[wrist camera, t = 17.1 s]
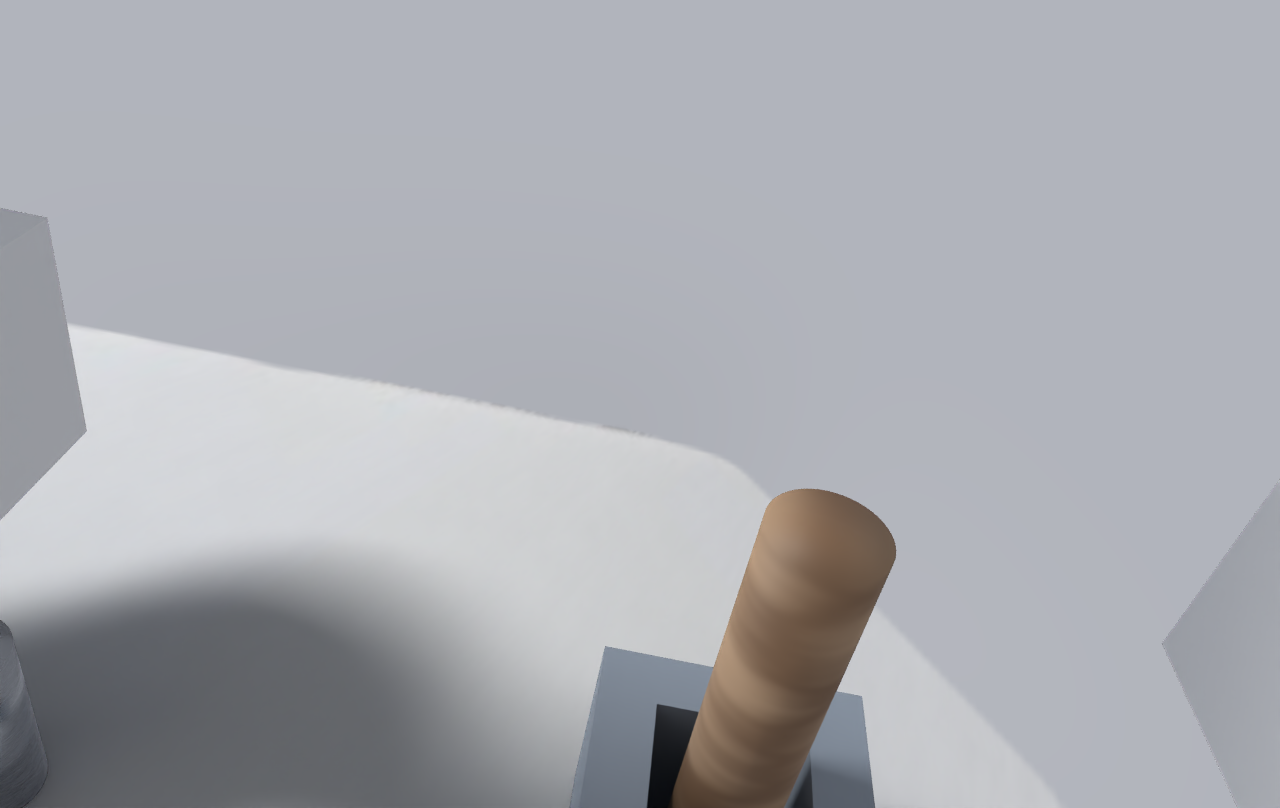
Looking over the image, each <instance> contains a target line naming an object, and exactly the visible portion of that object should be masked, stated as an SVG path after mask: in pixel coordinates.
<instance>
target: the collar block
mask: <svg viewBox="0 0 1280 808" xmlns="http://www.w3.org/2000/svg"><path fill="white" fill-rule="evenodd" d="M713 668H714V667H709V666H704V665H699V664H694V663H688V662H683V661H678V660H673V659H668V658H663V657H658V656H653V655H647V654H642V653H637V652H632V651H627V650H622V649H617V648H612V647H606V646H605V649H604V653H603V658H602V662H601V666H600V671H599V675H598V679H597V684H596V688H595V692H594V697H593V701H592V705H591V710H590V714H589V718H588V723H587V727H586V731H585V736H584V740H583V744H582V748H581V753H580V757H579V761H578V766H577V770H576V775H575V780H574V786H573V792H572V798H571V804H570V808H667V807H668V804H669V801H670V798H671V795H672V792H673V789H674V786H675V783H676V780H677V777H678V774H679V771H680V768H681V765H682V762H683V759H684V756H685V753H686V750H687V747H688V744H689V741H690V738H691V735H692V732H693V729H694V726H695V723H696V719H697V716H698V713H699V710H700V707H701V704H702V701H703V698H704V695H705V692H706V689H707V686H708V683H709V680H710V677H711V674H712V671H713ZM784 808H875V803H874V795H873V786H872V778H871V769H870V761H869V752H868V744H867V735H866V727H865V718H864V710H863V701H862V696H857V695H852V694H847V693H842V692H837V691H836V693H835V695H834V698H833V700H832V702H831V704H830V707H829V709H828V711H827V713H826V715H825V718H824V720H823V722H822V724H821V727H820V729H819V731H818V733H817V736H816V738H815V740H814V742H813V744H812V747H811V749H810V751H809V753H808V756H807V758H806V760H805V762H804V765H803V767H802V769H801V771H800V773H799V776H798V778H797V780H796V782H795V785H794V787H793V789H792V791H791V794H790V796H789V798H788V800H787V802H786V805H785V807H784Z"/></svg>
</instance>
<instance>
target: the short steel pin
mask: <svg viewBox="0 0 1280 808" xmlns="http://www.w3.org/2000/svg"><path fill="white" fill-rule="evenodd" d="M47 772H48V762H47V758H46V754H45V751H44V747H43V744H42V740H41V737H40V733H39V729H38V726H37V722H36V719H35V715H34V712H33V708H32V704H31V701H30V697H29V694H28V690H27V687H26V683H25V680H24V676H23V672H22V669H21V665H20V662H19V658H18V655H17V651H16V647H15V644H14V640H13V637H12V633H11V631H10V629H9V628H8V626H7V625H6V624H5V623H4V622H2V621H1V620H0V808H22V807H24V806H25V805H26V804H27V803H28V802H30V801H31V800H32V799H33V798H34V797H35V795H36V794H37V793H38V792H39V790H40V789H41V787H42V786H43V784H44V782H45V779H46V776H47Z"/></svg>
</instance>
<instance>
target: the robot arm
mask: <svg viewBox="0 0 1280 808" xmlns="http://www.w3.org/2000/svg"><path fill="white" fill-rule="evenodd" d="M86 431H87V430H86V424H85V419H84V413H83V408H82V403H81V397H80V392H79V386H78V381H77V376H76V370H75V365H74V359H73V354H72V349H71V343H70V338H69V332H68V327H67V322H66V317H65V311H64V305H63V300H62V295H61V289H60V284H59V279H58V273H57V268H56V263H55V258H54V252H53V246H52V241H51V235H50V230H49V224H48V219H47V217H42V216H36V215H32V214H27V213H22V212H17V211H12V210H7V209H2V208H0V520H1V519H2V518H3V517H4V516H5V515H6V514H7V513H8V512H9V511H10V510H11V509H12V508H13V507H14V505H15V504H16V503H17V502H18V501H19V500H20V499H21V498H22V497H23V496H24V495H25V494H26V493H27V492H28V491H29V490H30V489H31V488H32V487H33V486H34V485H35V484H36V483H37V482H38V481H39V480H40V479H41V478H42V477H43V476H44V475H45V474H46V472H47V471H48V470H49V469H50V468H51V467H52V466H53V465H54V464H55V463H56V462H57V461H58V460H59V459H60V458H61V457H62V456H63V455H64V454H65V453H66V452H67V451H68V450H69V449H70V448H71V447H72V446H73V445H74V444H75V443H76V442H77V441H78V439H79V438H80V437H81V436H82V435H83V434H84V433H85V432H86ZM1162 645H1163V647H1164V649H1165V651H1166V654H1167V656H1168V658H1169V660H1170V662H1171V665H1172V667H1173V669H1174V671H1175V673H1176V675H1177V678H1178V680H1179V682H1180V684H1181V686H1182V688H1183V691H1184V692H1185V695H1186V697H1187V699H1188V702H1189V704H1190V706H1191V708H1192V710H1193V712H1194V715H1195V717H1196V719H1197V721H1198V723H1199V726H1200V727H1201V730H1202V732H1203V734H1204V736H1205V738H1206V741H1207V743H1208V745H1209V747H1210V749H1211V752H1212V754H1213V756H1214V758H1215V760H1216V762H1217V765H1218V767H1219V769H1220V771H1221V773H1222V776H1223V778H1224V780H1225V782H1226V784H1227V786H1228V789H1229V791H1230V793H1231V795H1232V797H1233V799H1234V802H1235V804H1236V806H1237V808H1280V479H1279V481H1278V482H1277V484H1276V485H1275V487H1274V488H1273V489H1272V491H1271V492H1270V494H1269V495H1268V496H1267V498H1266V499H1265V500H1264V502H1263V503H1262V505H1261V506H1260V507H1259V509H1258V510H1257V512H1256V513H1255V514H1254V516H1253V517H1252V519H1251V520H1250V521H1249V523H1248V524H1247V525H1246V527H1245V528H1244V530H1243V531H1242V532H1241V534H1240V535H1239V537H1238V538H1237V540H1236V541H1235V542H1234V544H1233V545H1232V547H1231V548H1230V549H1229V551H1228V552H1227V553H1226V555H1225V556H1224V558H1223V559H1222V560H1221V562H1220V563H1219V565H1218V566H1217V567H1216V569H1215V570H1214V572H1213V573H1212V574H1211V576H1210V577H1209V579H1208V580H1207V581H1206V583H1205V584H1204V586H1203V587H1202V588H1201V590H1200V591H1199V593H1198V594H1197V595H1196V597H1195V598H1194V600H1193V601H1192V602H1191V604H1190V605H1189V607H1188V608H1187V609H1186V611H1185V612H1184V613H1183V615H1182V616H1181V618H1180V619H1179V620H1178V622H1177V623H1176V625H1175V626H1174V628H1173V629H1172V630H1171V632H1170V633H1169V634H1168V636H1167V637H1166V639H1165V640H1164V641H1163V643H1162Z"/></svg>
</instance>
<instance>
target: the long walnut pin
mask: <svg viewBox="0 0 1280 808" xmlns="http://www.w3.org/2000/svg"><path fill="white" fill-rule="evenodd" d="M895 558H896V546H895V542H894V539H893V537H892V535H891V533H890V531H889V529H888V528H887V527H886V525H885V524H884V523H883V522H882V521H881V520H880V519H879V518H878V517H877V516H876V515H875V514H874V513H873V512H872V511H870V510H869V509H867V508H866V507H864V506H863V505H861V504H859V503H858V502H856V501H854V500H852V499H850V498H847V497H845V496H843V495H839V494H836V493H833V492H829V491H825V490H818V489H798V490H792V491H788V492H785V493H782V494H781V495H779V496H777V497H776V498H774V499H773V500H772V501H771V502H770V503H769V504H768V506H767V508H766V510H765V513H764V516H763V519H762V522H761V525H760V528H759V531H758V535H757V538H756V541H755V544H754V547H753V550H752V553H751V556H750V559H749V562H748V565H747V568H746V571H745V574H744V577H743V580H742V583H741V586H740V589H739V592H738V595H737V598H736V601H735V604H734V607H733V610H732V613H731V616H730V619H729V622H728V625H727V629H726V632H725V635H724V638H723V641H722V644H721V647H720V650H719V653H718V656H717V659H716V662H715V665H714V668H713V671H712V674H711V677H710V680H709V683H708V686H707V689H706V692H705V695H704V698H703V701H702V704H701V707H700V710H699V713H698V716H697V719H696V723H695V726H694V729H693V732H692V735H691V738H690V741H689V744H688V747H687V750H686V753H685V756H684V759H683V762H682V765H681V768H680V771H679V774H678V777H677V780H676V783H675V786H674V789H673V792H672V795H671V798H670V801H669V804H668V807H667V808H784V807H785V805H786V802H787V800H788V798H789V796H790V794H791V791H792V789H793V787H794V785H795V782H796V780H797V778H798V776H799V773H800V771H801V769H802V767H803V765H804V762H805V760H806V758H807V756H808V753H809V751H810V749H811V747H812V744H813V742H814V740H815V738H816V736H817V733H818V731H819V729H820V727H821V724H822V722H823V720H824V718H825V715H826V713H827V711H828V709H829V707H830V704H831V702H832V700H833V698H834V695H835V693H836V691H837V689H838V686H839V684H840V682H841V680H842V678H843V675H844V673H845V671H846V669H847V666H848V664H849V662H850V660H851V657H852V655H853V653H854V651H855V649H856V646H857V644H858V642H859V640H860V637H861V635H862V633H863V631H864V628H865V626H866V624H867V622H868V620H869V617H870V615H871V613H872V611H873V608H874V606H875V604H876V602H877V599H878V597H879V595H880V593H881V590H882V588H883V586H884V584H885V582H886V579H887V577H888V575H889V573H890V570H891V568H892V566H893V563H894V561H895Z"/></svg>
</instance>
